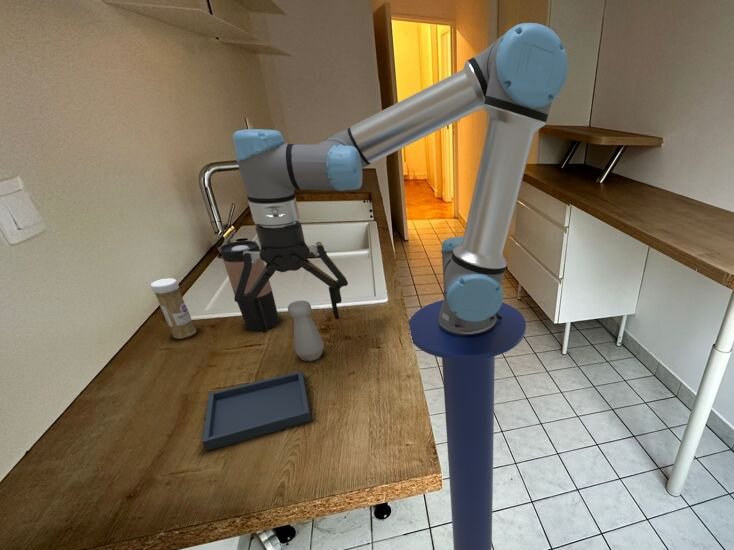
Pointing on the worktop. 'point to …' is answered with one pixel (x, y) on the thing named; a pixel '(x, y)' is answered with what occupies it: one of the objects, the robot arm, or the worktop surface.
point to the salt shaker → (305, 332)
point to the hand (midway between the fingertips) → (301, 322)
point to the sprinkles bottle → (173, 307)
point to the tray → (255, 410)
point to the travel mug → (249, 283)
